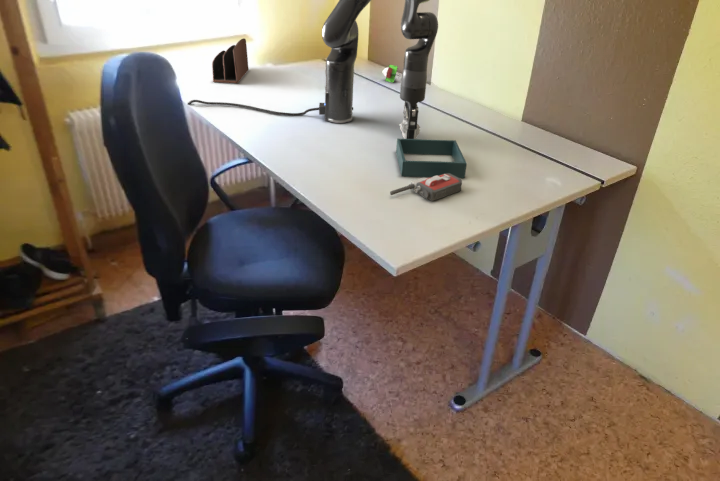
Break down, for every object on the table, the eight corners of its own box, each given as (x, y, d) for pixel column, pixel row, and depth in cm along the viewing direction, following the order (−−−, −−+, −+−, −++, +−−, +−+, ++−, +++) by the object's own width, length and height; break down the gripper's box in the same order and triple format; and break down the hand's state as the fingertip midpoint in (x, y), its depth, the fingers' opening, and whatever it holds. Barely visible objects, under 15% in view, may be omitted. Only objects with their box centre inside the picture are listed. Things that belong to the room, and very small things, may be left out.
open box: (401, 176, 151) (402, 161, 148) (395, 152, 165) (397, 138, 162) (464, 178, 152) (466, 163, 149) (453, 154, 166) (455, 140, 163)
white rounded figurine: (394, 138, 175) (396, 117, 171) (413, 135, 177) (416, 115, 173) (403, 145, 170) (405, 123, 166) (423, 142, 172) (425, 121, 169)
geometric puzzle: (391, 72, 232) (386, 58, 226) (405, 75, 229) (400, 61, 222) (383, 85, 231) (377, 72, 224) (396, 88, 227) (391, 75, 221)
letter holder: (248, 70, 232) (246, 35, 224) (238, 84, 215) (235, 47, 208) (225, 69, 232) (222, 34, 225) (212, 82, 215) (209, 45, 208)
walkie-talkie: (442, 178, 151) (387, 196, 140) (444, 163, 149) (388, 180, 138) (465, 190, 146) (410, 210, 135) (468, 175, 143) (412, 194, 132)
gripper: (398, 76, 169) (394, 126, 178) (403, 90, 157) (398, 143, 166) (422, 77, 170) (417, 127, 179) (429, 91, 158) (423, 144, 166)
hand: (408, 135), depth 172 cm, fingers open, 8 cm apart
